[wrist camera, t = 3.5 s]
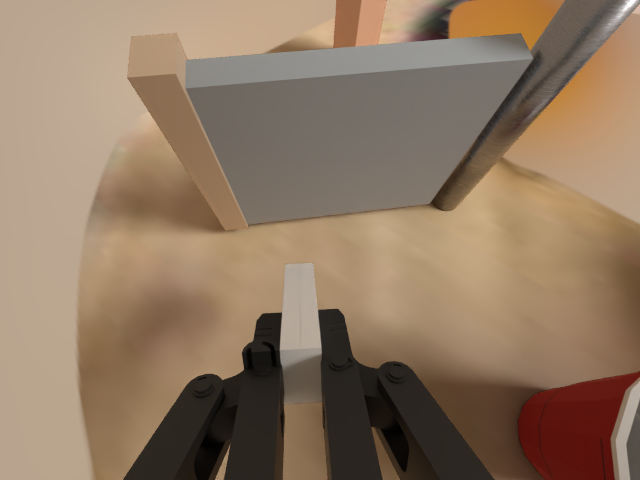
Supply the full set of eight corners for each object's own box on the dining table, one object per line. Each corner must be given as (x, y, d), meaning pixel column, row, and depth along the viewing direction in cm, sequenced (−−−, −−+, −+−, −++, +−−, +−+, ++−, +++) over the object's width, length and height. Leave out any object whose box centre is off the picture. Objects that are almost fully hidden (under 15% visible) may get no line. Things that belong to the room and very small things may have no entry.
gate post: (462, 193, 29) (664, -40, 12) (453, 215, 28) (656, -3, 12) (437, 182, 30) (600, -59, 13) (427, 203, 29) (588, -24, 12)
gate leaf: (423, 184, 28) (531, 6, 14) (430, 207, 28) (551, 42, 14) (224, 206, 27) (131, 36, 13) (225, 230, 26) (126, 77, 12)
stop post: (372, 70, 34) (392, -26, 26) (350, 83, 34) (362, -11, 25) (354, 53, 35) (367, -45, 27) (332, 66, 34) (338, -31, 26)
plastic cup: (447, 394, 23) (569, 420, 12) (566, 330, 25) (769, 300, 14) (543, 574, 20) (839, 841, 9) (674, 485, 22) (1058, 610, 11)
